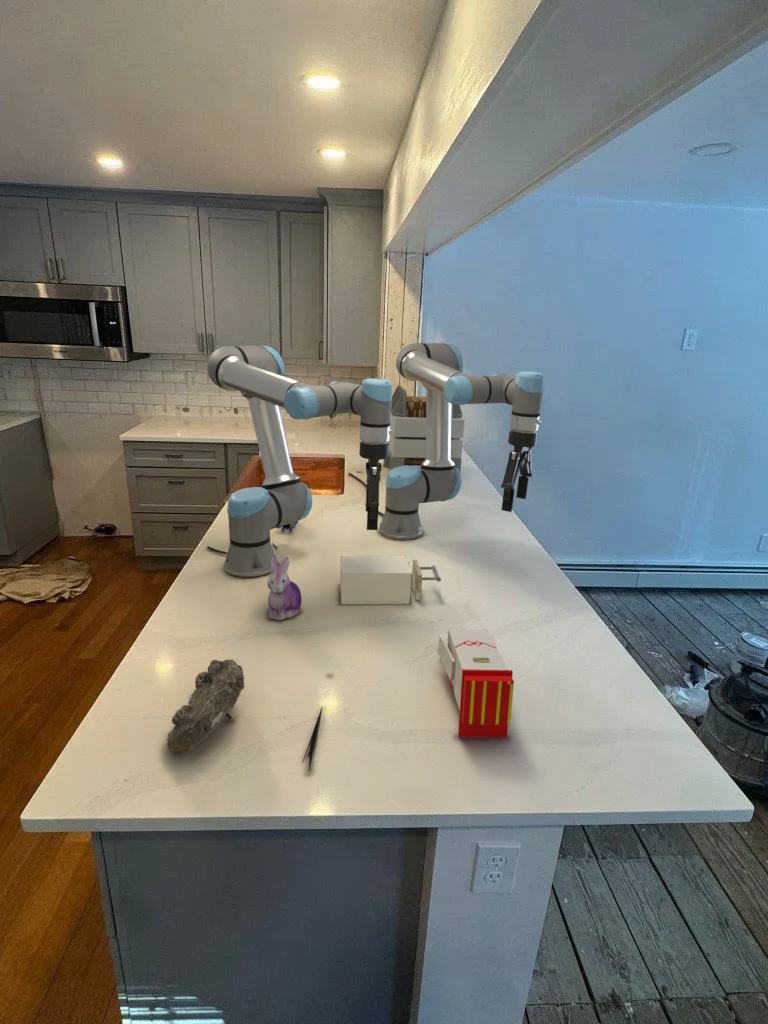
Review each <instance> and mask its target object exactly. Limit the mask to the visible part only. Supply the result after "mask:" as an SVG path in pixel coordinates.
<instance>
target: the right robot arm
mask: <svg viewBox="0 0 768 1024" xmlns="http://www.w3.org/2000/svg"><path fill="white" fill-rule="evenodd" d="M395 367H396V370H397V372H398V374H399V375H400V376H401V377H402V378H404V379H406V380H408V381H411V382H419V383H421V385H422V386H423V388H425V390H426V391H425V392H426V393H425V394H426V396H425V397H426V459H425V461H424V462H423V463H422V466H421V467H420V466H407V465H404V466H399V467H395V468H393V469H391V470H390V469H389V470H388V472H387V475H386V479H385V504H384V505H385V507H384V508H385V509H384V512H381V511H379V510H378V515H380V516H381V517H382V519H381V522H379V525H378V533H379V534H380V535H381V536H382V537H385V538H387V539H389V540H395V541H410V540H415V539H418V538H420V537H421V536H422V535H423V525H422V524H421V518H420V515H419V507H420V506H419V505H420V504H425V503H426V504H427V503H437V502H446V501H451V500H453V499H455V498H456V497H457V495H458V494H459V493H460V490H461V486H462V476H461V474H460V472H459V471H458V469H457V468H455V464H454V463H453V461H452V460H451V459H450V451H451V404H458V405H460V406H465V405H480V404H482V405H484V404H485V405H486V404H504V405H510V406H511V415H510V422H509V429H510V430H509V431H508V439H507V443H508V444H509V445H510V446H512V447H513V450H512V451H509V453H508V459H507V464H506V468H505V472H504V476H503V479H502V483H501V485H500V488H502V489H503V496H502V503H501V511H504V512H508V513H512V511H513V507H514V506H513V505H514V497H515V498H517V499H522V500H526V499H527V494H528V486H529V479H530V478H533V470H532V469H533V466H532V465H533V464H532V463H533V462H532V457H533V456H532V451H533V450H532V449H533V447H535V446H537V442H538V441H537V440H538V433H537V431H538V430H539V425H540V424H541V423H542V421H541V420H540V418H541V417H540V416H541V412H542V411H541V409H542V404H543V396H544V391H545V375H544V374H543V373H541V372H536V371H535V372H534V371H518V372H516V375H515V376H512V375H507V374H504V373H502V374H500V373H495V374H492V375H469V374H466V373H464V369H465V361H464V356H463V354H462V351H461V350H460V348H459V347H458V346H457V345H455V344H454V343H445V342H413V343H409V344H407V345H405V346H404V347H402V348H401V349H400V350H399V352H398V354H397V356H396V359H395ZM347 474H348V475H349V476H350V477H353V478H354V479H356V480H357V481H358V482H359V483H361V484H362V485H363V486H364V487H365V488H366V489H367V488H368V487H367V483H366V482H364V481H363V480H361V478H359V477H357V476H356V475H355V474H352V473H351V472H348V473H347ZM517 478H518V480H517ZM516 482H517V487H516V489H515V484H516ZM515 490H516V495H515Z"/></svg>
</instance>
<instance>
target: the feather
mask: <svg viewBox="0 0 768 1024" xmlns="http://www.w3.org/2000/svg"><path fill="white" fill-rule="evenodd" d="M329 675H330V676H331V675H332V674H331V673H330V674H329ZM322 710H323V707H321V708H320V710H319V713H318V716H317V719H316V723H315V725H314V728H313V731H312V733H311V737H310V739H309V742H308V745H307V748H306V751H305V754H304V757H303V760H302V763H301V767H302V765H303V763H304V761H305V758H308V759H309V760H308V762H307V763H308V764H307V766H308V771H310V770H311V766H312V765H311V764H312V760H313V757H315V756H314V755H315V751H316V749H315V746H317V739H318V733H319V729H320V722H321V717H322V712H323V711H322ZM313 754H314V755H313ZM306 755H307V757H306Z"/></svg>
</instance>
